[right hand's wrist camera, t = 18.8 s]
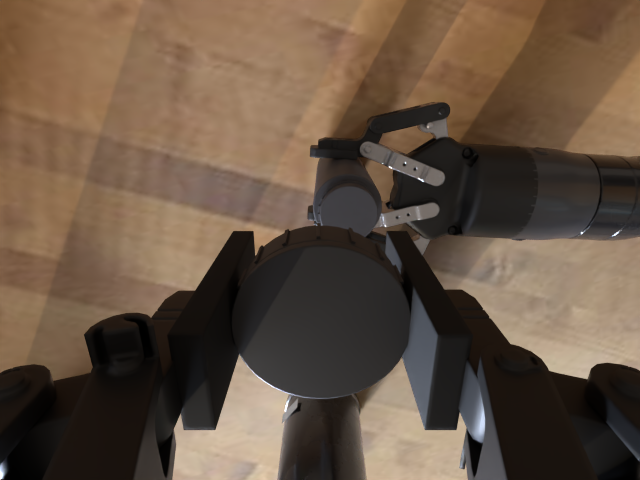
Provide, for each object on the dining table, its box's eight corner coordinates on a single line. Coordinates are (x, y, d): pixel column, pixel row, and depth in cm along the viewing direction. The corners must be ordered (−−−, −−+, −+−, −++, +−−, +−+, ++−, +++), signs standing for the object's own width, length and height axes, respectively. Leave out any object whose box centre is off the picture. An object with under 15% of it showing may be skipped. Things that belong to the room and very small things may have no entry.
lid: (431, 319, 12) (446, 350, 11) (300, 387, 13) (297, 426, 12) (347, 189, 11) (352, 205, 9) (206, 279, 12) (189, 307, 10)
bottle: (313, 151, 36) (306, 185, 22) (359, 143, 36) (380, 172, 22) (321, 195, 38) (319, 253, 24) (365, 188, 37) (389, 242, 23)
